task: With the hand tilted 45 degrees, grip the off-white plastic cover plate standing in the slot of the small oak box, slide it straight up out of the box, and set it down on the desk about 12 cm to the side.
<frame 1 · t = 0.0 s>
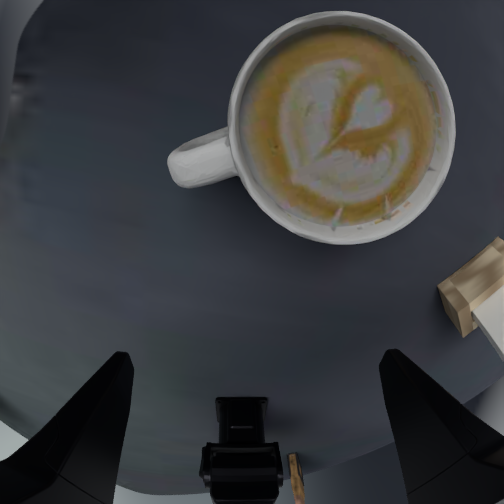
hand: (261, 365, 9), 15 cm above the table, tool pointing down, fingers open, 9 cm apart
oak box: (472, 275, 27), on the table
coffee mug: (280, 113, 19), on the table
ammunition clip: (294, 459, 49), on the table
cover plate: (475, 278, 27), resting on oak box
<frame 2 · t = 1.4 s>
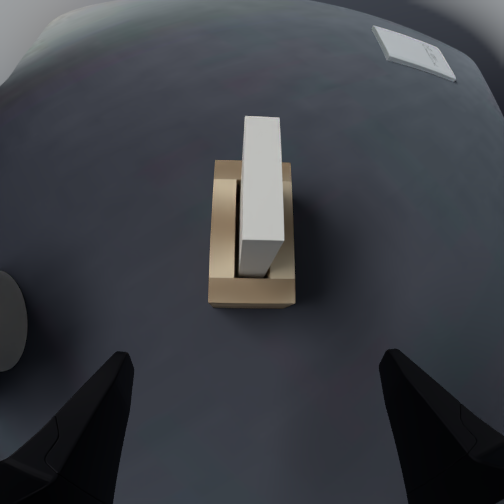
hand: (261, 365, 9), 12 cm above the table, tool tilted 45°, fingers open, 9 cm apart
external hard drive: (412, 57, 33), on the table
oak box: (249, 245, 23), on the table
cover plate: (249, 243, 23), resting on oak box
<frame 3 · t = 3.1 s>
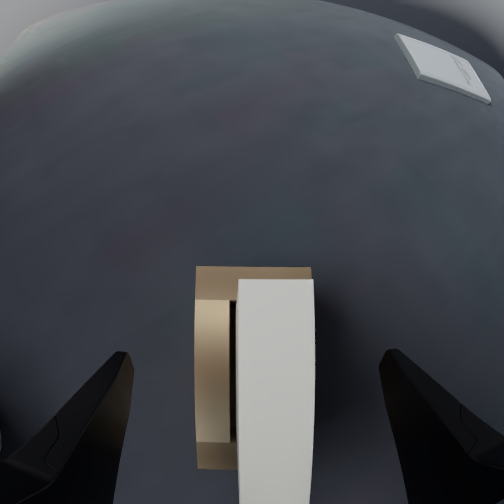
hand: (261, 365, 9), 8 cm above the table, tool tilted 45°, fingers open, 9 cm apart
external hard drive: (441, 73, 27), on the table
oak box: (249, 364, 17), on the table
cover plate: (249, 365, 16), resting on oak box
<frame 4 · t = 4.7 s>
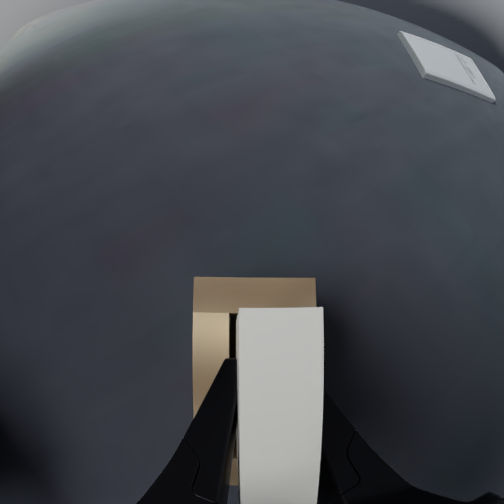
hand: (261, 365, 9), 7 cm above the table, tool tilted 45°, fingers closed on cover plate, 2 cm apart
external hard drive: (445, 71, 26), on the table
oak box: (250, 375, 16), on the table
cover plate: (250, 376, 15), resting on oak box, touching gripper
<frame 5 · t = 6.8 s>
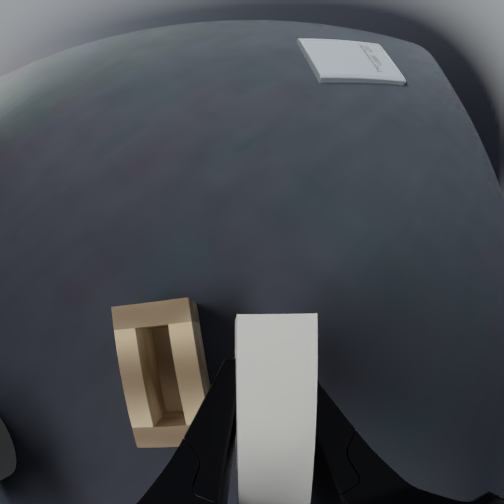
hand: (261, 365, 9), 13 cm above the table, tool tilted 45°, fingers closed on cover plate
external hard drive: (350, 66, 32), on the table
oak box: (173, 369, 21), on the table
cover plate: (249, 373, 16), point 6 cm above the table, touching gripper
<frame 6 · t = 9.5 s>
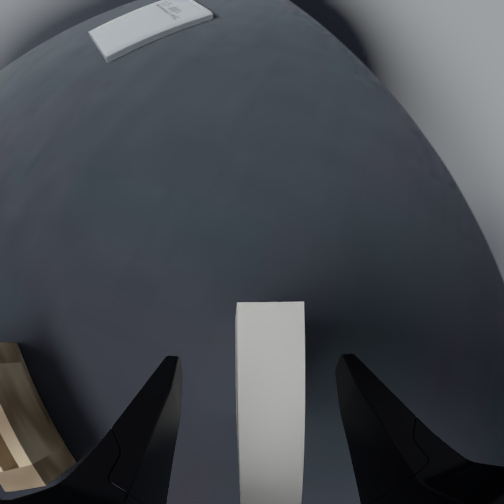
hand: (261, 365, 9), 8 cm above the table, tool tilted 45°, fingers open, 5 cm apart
external hard drive: (149, 29, 26), on the table
oak box: (23, 413, 15), on the table
cover plate: (249, 368, 17), on the table
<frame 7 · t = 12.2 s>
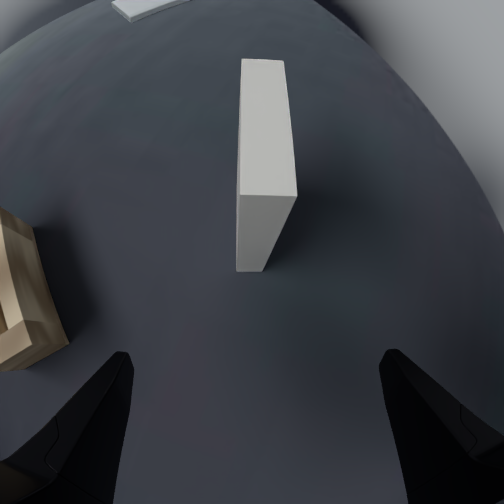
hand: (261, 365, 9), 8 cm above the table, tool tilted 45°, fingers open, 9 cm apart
external hard drive: (163, 1, 28), on the table
oak box: (24, 297, 17), on the table
cover plate: (248, 226, 20), on the table
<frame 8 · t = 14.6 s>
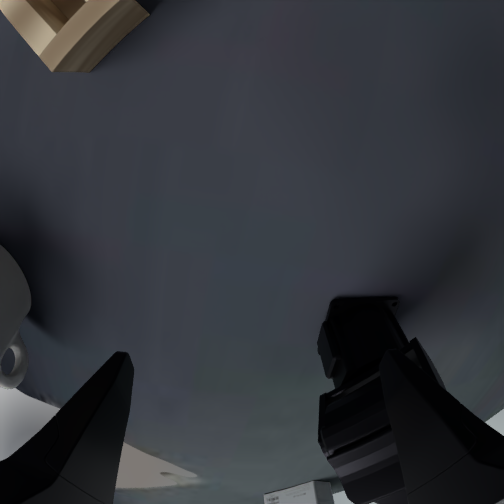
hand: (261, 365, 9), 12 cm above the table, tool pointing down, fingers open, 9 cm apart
oak box: (80, 4, 11), on the table
coffee mug: (4, 292, 23), on the table
hard drive box: (296, 488, 55), on the table
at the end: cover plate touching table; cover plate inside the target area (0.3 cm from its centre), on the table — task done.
